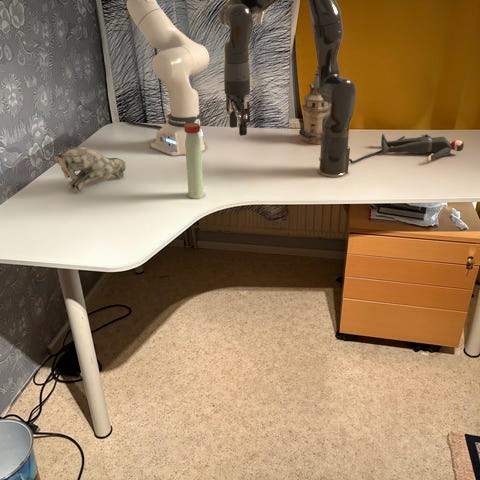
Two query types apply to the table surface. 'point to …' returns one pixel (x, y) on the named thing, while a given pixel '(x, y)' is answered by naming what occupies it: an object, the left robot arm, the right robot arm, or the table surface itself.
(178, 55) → the left robot arm
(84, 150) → the figurine
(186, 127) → the cap
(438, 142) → the toy
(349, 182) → the table surface
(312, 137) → the miniature building
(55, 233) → the table surface
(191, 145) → the bottle
